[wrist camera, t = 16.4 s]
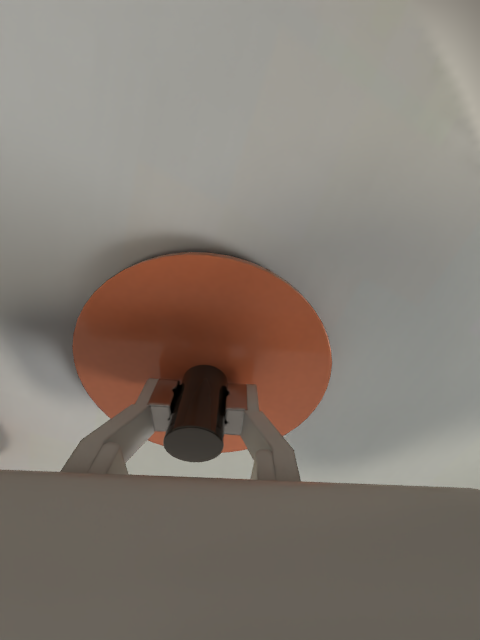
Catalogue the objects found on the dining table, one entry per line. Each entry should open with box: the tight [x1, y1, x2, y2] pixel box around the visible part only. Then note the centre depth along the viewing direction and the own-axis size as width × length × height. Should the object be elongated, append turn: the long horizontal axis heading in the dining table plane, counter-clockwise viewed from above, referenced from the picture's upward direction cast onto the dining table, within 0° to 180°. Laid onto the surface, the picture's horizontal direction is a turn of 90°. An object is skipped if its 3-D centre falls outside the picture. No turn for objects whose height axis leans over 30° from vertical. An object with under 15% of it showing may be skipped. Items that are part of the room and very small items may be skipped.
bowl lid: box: [73, 252, 332, 462], centre depth 11 cm, size 13×13×5 cm
